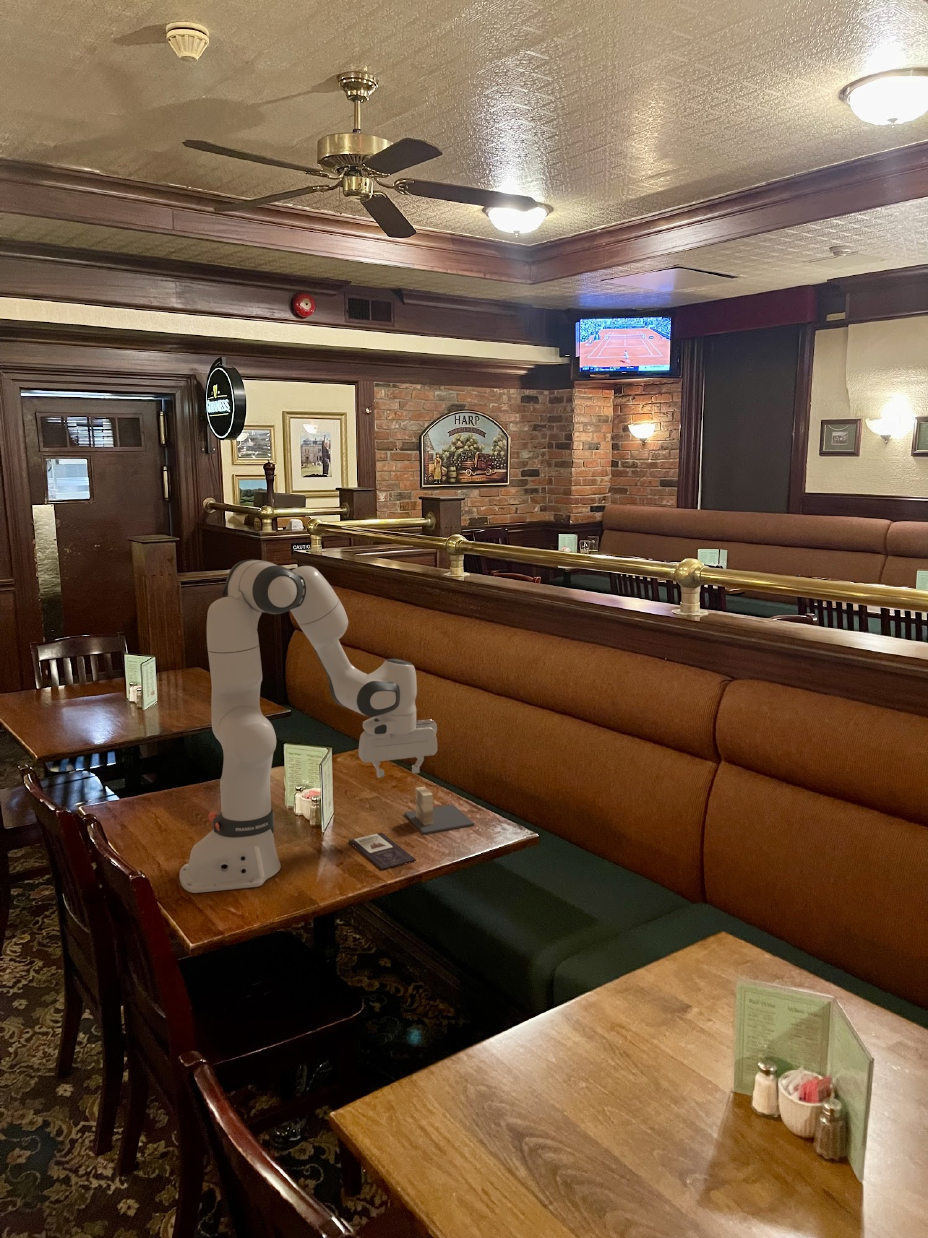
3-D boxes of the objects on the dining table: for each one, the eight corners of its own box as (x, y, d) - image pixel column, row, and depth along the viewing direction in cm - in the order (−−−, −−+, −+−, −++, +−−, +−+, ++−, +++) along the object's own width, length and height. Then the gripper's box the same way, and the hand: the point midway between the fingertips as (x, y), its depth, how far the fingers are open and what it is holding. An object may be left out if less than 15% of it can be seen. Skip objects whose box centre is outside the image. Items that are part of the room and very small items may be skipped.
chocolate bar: (381, 868, 211) (348, 840, 226) (382, 872, 211) (348, 844, 226) (416, 859, 215) (381, 832, 230) (416, 863, 216) (381, 836, 231)
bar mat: (423, 834, 231) (423, 832, 230) (404, 814, 243) (404, 812, 243) (474, 825, 236) (474, 823, 236) (453, 806, 249) (453, 804, 249)
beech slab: (433, 823, 236) (432, 794, 234) (424, 825, 235) (423, 795, 233) (424, 815, 241) (424, 786, 240) (415, 816, 240) (415, 788, 239)
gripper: (432, 715, 237) (431, 766, 239) (356, 722, 229) (356, 775, 231) (441, 721, 231) (440, 774, 234) (364, 729, 223) (363, 783, 226)
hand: (398, 774), depth 232 cm, fingers open, 8 cm apart
